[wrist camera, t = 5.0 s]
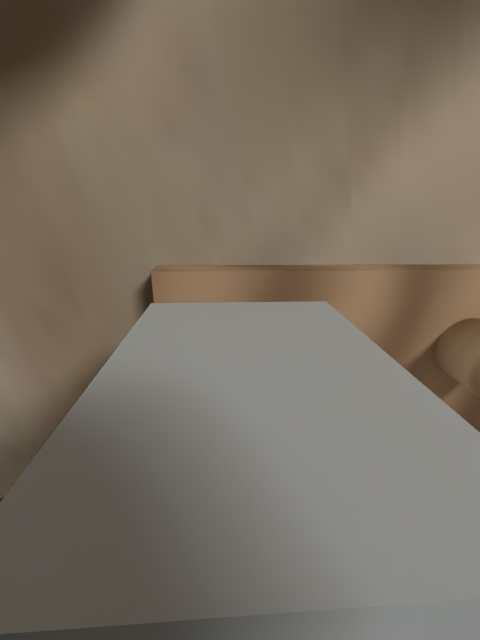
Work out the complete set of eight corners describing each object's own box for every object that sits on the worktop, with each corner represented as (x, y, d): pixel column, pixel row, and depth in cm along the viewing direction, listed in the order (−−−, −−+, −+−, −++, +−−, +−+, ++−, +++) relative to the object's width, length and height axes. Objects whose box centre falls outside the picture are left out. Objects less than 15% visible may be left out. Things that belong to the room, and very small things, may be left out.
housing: (326, 301, 10) (658, 586, 2) (310, 439, 12) (465, 831, 4) (151, 303, 9) (-105, 641, 2) (165, 444, 11) (61, 881, 4)
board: (596, 263, 16) (668, 273, 13) (501, 490, 21) (539, 528, 19) (157, 265, 14) (144, 277, 12) (179, 508, 20) (173, 552, 17)
